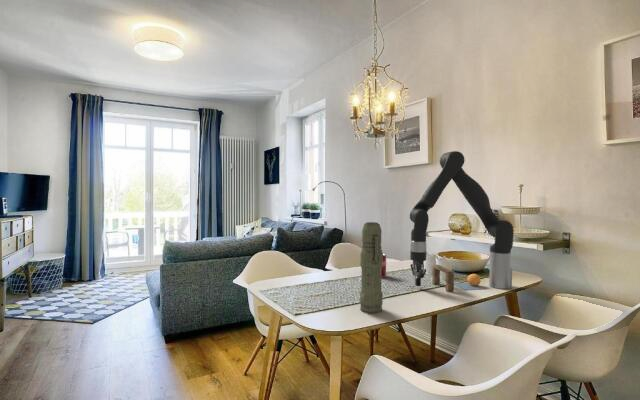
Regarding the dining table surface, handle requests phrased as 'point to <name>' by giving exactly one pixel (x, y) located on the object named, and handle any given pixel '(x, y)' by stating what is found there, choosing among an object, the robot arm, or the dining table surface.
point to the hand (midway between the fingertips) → (417, 285)
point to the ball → (473, 279)
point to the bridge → (448, 277)
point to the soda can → (383, 270)
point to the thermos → (371, 269)
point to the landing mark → (468, 286)
